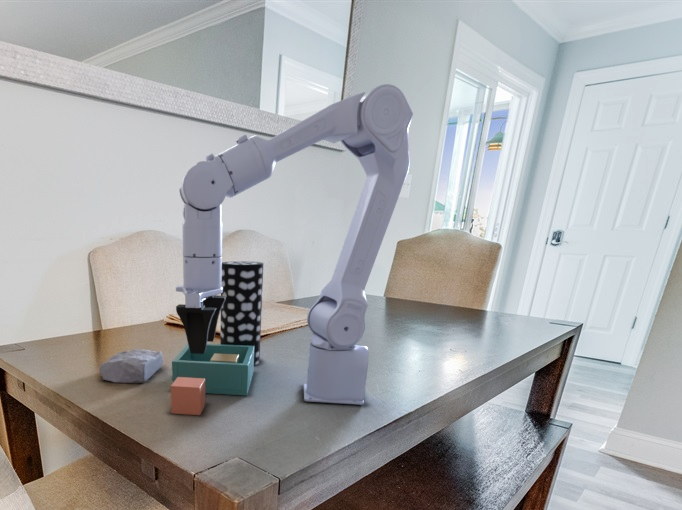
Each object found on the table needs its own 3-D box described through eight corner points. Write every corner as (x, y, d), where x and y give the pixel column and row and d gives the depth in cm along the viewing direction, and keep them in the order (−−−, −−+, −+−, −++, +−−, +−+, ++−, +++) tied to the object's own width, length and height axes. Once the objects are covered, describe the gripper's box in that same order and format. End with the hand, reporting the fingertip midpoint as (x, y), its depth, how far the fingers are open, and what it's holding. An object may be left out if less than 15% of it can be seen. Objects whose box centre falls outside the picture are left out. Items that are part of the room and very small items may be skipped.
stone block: (98, 390, 85) (147, 383, 83) (91, 365, 84) (141, 357, 81) (123, 373, 96) (167, 366, 94) (117, 350, 95) (162, 343, 92)
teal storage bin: (253, 372, 90) (254, 345, 88) (247, 395, 78) (248, 365, 76) (188, 369, 92) (188, 342, 90) (172, 391, 80) (171, 361, 78)
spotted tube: (266, 359, 99) (270, 262, 91) (247, 369, 92) (250, 265, 85) (232, 353, 103) (234, 260, 96) (212, 362, 96) (213, 263, 89)
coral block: (205, 404, 74) (205, 378, 73) (200, 415, 70) (199, 387, 68) (178, 403, 75) (177, 376, 73) (171, 413, 71) (170, 385, 69)
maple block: (238, 378, 84) (238, 354, 83) (235, 386, 80) (236, 361, 79) (214, 376, 85) (214, 353, 83) (210, 384, 81) (210, 360, 79)
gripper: (186, 252, 75) (187, 335, 80) (162, 259, 61) (165, 357, 66) (229, 253, 74) (228, 337, 79) (214, 260, 60) (213, 360, 65)
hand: (202, 346), depth 72 cm, fingers open, 7 cm apart
